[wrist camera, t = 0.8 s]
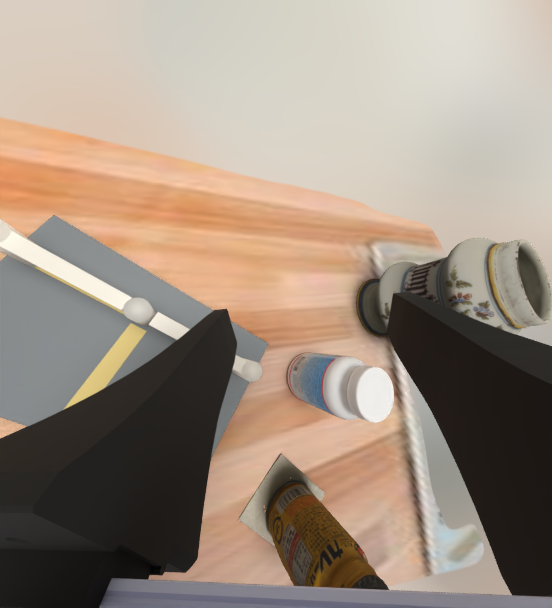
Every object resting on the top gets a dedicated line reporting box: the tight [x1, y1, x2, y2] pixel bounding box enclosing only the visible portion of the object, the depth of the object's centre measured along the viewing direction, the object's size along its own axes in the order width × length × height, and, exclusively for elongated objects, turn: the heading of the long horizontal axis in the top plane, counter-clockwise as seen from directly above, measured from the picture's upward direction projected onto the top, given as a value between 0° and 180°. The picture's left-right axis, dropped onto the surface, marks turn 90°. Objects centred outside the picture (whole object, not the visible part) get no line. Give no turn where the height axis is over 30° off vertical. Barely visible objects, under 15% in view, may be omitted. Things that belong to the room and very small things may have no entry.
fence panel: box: [149, 312, 262, 382], centre depth 21 cm, size 10×2×6 cm, turn 62°
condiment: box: [239, 454, 389, 590], centre depth 20 cm, size 7×8×12 cm
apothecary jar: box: [357, 238, 552, 337], centre depth 28 cm, size 12×12×18 cm
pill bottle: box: [288, 353, 394, 423], centre depth 24 cm, size 6×6×11 cm
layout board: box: [0, 215, 268, 457], centre depth 21 cm, size 16×24×1 cm, turn 62°
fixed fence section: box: [0, 219, 156, 326], centre depth 17 cm, size 12×2×6 cm, turn 62°
